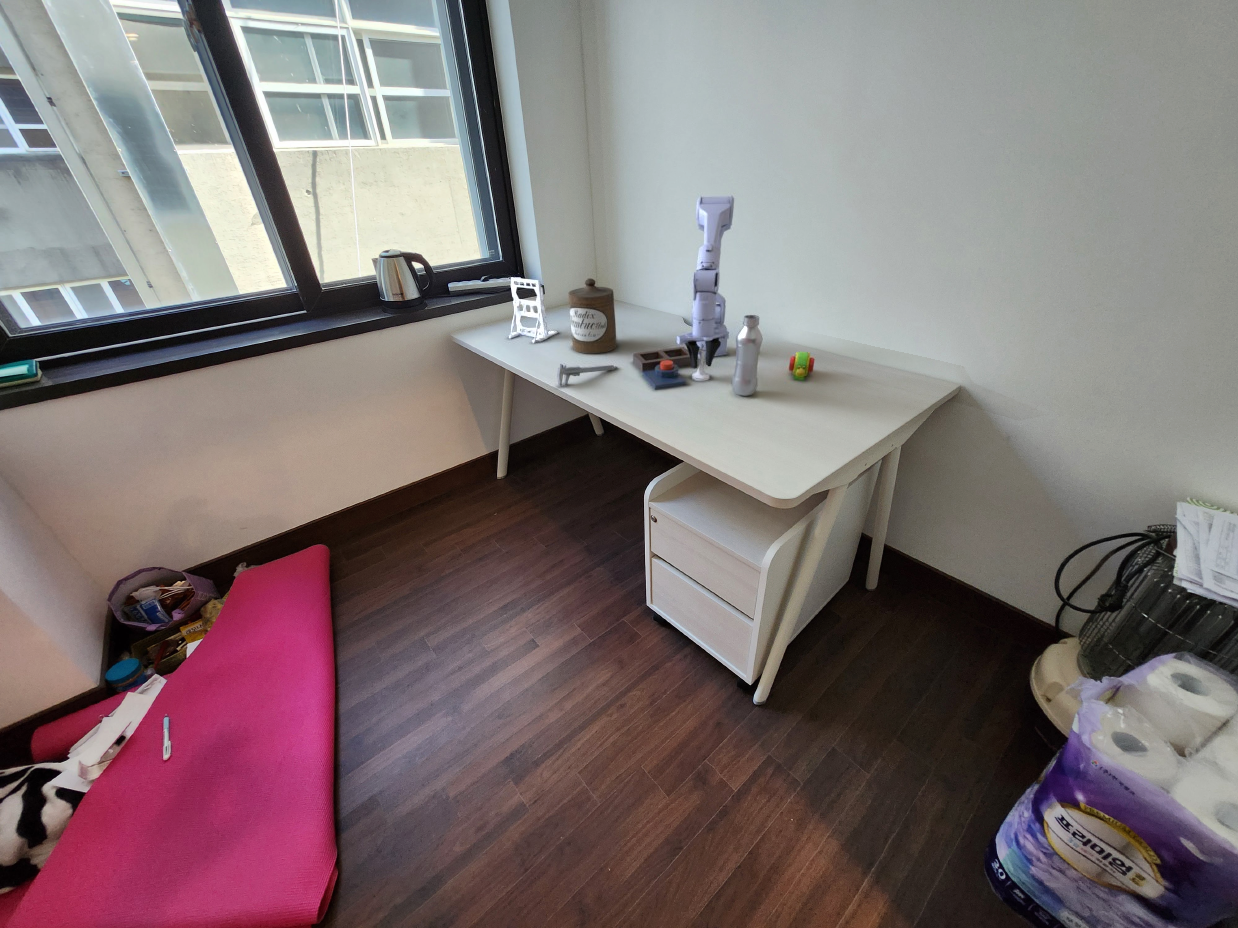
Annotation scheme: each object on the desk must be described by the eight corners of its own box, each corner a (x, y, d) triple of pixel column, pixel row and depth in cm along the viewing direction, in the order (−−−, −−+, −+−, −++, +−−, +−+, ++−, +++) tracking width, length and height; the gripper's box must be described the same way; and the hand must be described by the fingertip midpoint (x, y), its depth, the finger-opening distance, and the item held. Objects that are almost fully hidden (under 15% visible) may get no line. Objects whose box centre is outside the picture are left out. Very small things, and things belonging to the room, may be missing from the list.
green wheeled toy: (786, 381, 132) (790, 358, 129) (790, 358, 148) (794, 336, 144) (811, 384, 130) (815, 360, 127) (812, 359, 146) (816, 338, 142)
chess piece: (710, 375, 138) (713, 341, 133) (707, 381, 134) (710, 346, 129) (693, 373, 140) (695, 340, 134) (690, 380, 136) (691, 345, 130)
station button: (670, 366, 138) (670, 359, 137) (675, 370, 135) (675, 363, 134) (658, 367, 138) (658, 361, 137) (662, 372, 135) (663, 365, 134)
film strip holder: (561, 332, 178) (555, 276, 168) (536, 343, 168) (528, 284, 158) (531, 328, 185) (524, 273, 174) (506, 338, 175) (497, 280, 165)
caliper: (560, 387, 135) (558, 365, 131) (558, 386, 135) (556, 364, 132) (617, 368, 145) (616, 348, 142) (614, 367, 146) (614, 347, 143)
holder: (683, 355, 153) (683, 346, 151) (695, 365, 145) (695, 356, 144) (633, 362, 149) (632, 353, 147) (642, 373, 142) (642, 363, 140)
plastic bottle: (742, 400, 123) (750, 322, 112) (725, 391, 128) (732, 316, 117) (761, 395, 125) (771, 318, 115) (744, 386, 130) (752, 312, 120)
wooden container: (565, 351, 160) (558, 282, 148) (584, 338, 172) (579, 273, 160) (606, 356, 155) (602, 285, 143) (623, 342, 167) (620, 275, 155)
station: (672, 371, 142) (672, 361, 140) (686, 385, 133) (687, 374, 131) (642, 375, 140) (642, 365, 138) (654, 389, 131) (655, 379, 129)
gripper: (684, 324, 123) (682, 374, 130) (735, 318, 126) (731, 367, 133) (674, 317, 129) (673, 366, 136) (723, 312, 132) (719, 359, 139)
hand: (701, 366), depth 135 cm, fingers open, 4 cm apart
